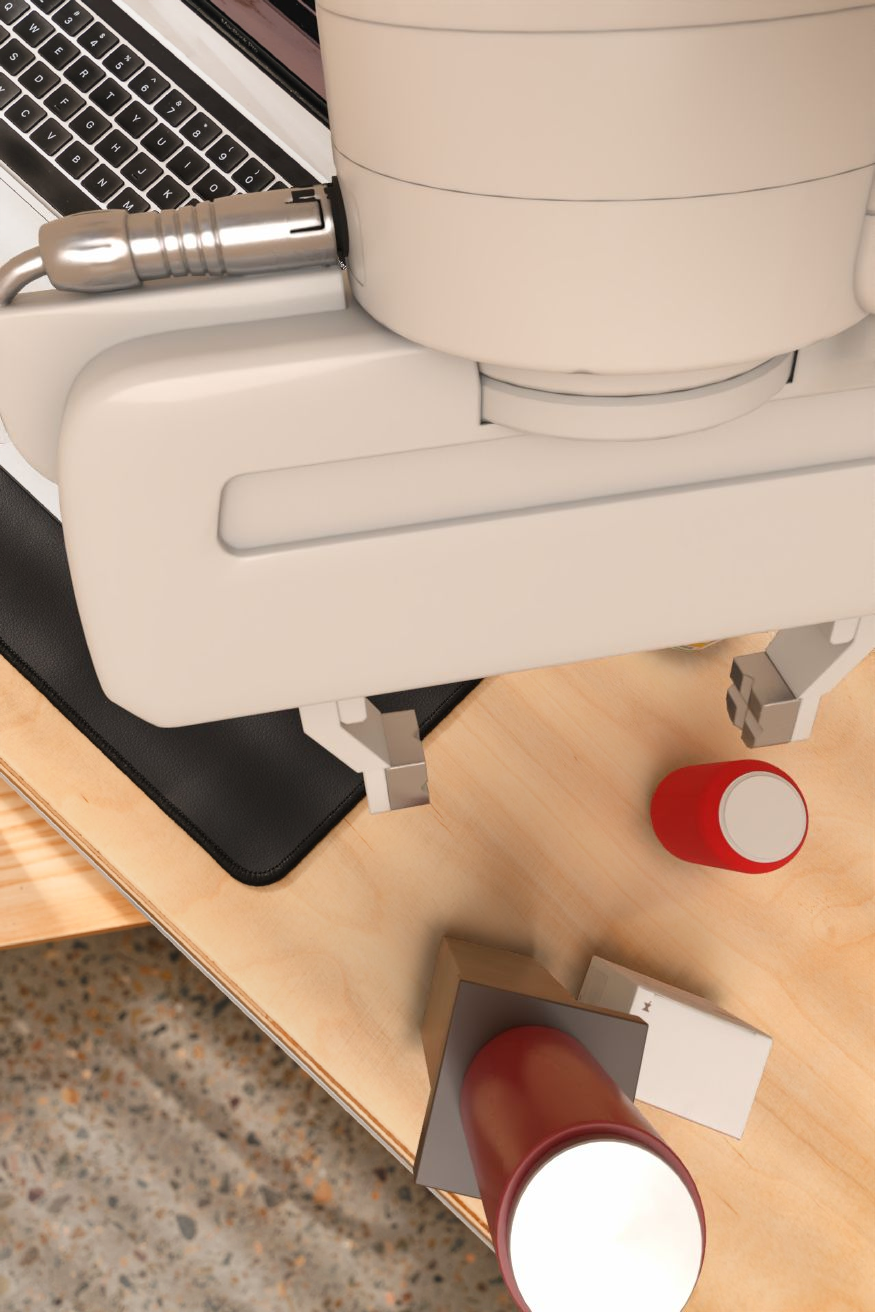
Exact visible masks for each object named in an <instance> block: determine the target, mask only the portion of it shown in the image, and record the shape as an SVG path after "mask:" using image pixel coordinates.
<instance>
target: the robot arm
mask: <svg viewBox="0 0 875 1312" xmlns="http://www.w3.org/2000/svg"><path fill="white" fill-rule="evenodd" d="M314 4H315V14H316V23H317V30H318V39H319V47H320V56H321V63H322V71H323V72H322V73H323V80H324V81H323V82H324V88H325V97H326V105H327V106H326V107H327V115H328V121H329V122H328V123H329V131H330V132H329V133H330V140H331V141H330V144H331V152H332V160H333V164H334V168H335V173H336V175H331V181H330V182H323V183H321V184H320V183H319V184H306V185H304V184H303V185H297V186H290V187H288V188H281V189H280V188H279V189H272V190H263V191H254V192H248V193H247V192H246V193H239V194H232V195H227V196H222V197H217V198H214V199H213V201H210V200H204V201H201V202H197V203H196V205H192V204H189V205H184V206H180V207H178V210H176V209H175V208H169V209H161V210H160V212H159V213H158V211H156V210H152V211H144V212H136V213H129V211H128V209H124V208H123V209H122V208H121V209H120V208H109V209H106V208H105V209H94V210H93V209H92V210H87V211H80V212H76V213H72V214H68V215H66V216H62V217H59V218H56V219H53V220H51V221H48V222H46V223H43V224H41V226H40V227H39V229H38V234H37V235H38V246H35V247H32V248H29V249H27V250H24V251H22V252H21V253H18V254H17V255H15V256H13V257H11V258H10V259H9V260H8V261H6V262H5V263H4V264H2V266H0V419H1V421H2V424H3V427H4V429H5V432H6V434H7V435H8V437H9V440H10V441H11V443H12V445H13V446H14V447H15V450H17V452H18V453H19V455H20V456H21V457H22V458H23V459H24V460H25V462H27V464H28V465H29V466H30V467H31V468H32V469H34V470H35V471H36V472H37V473H38V474H40V476H42V477H43V478H45V479H47V480H48V481H49V482H51V483H53V484H55V485H57V493H58V501H59V512H60V518H61V525H62V526H61V527H62V532H63V540H64V548H65V552H66V557H67V563H68V567H69V572H70V573H69V574H70V578H71V582H72V587H73V593H74V597H75V602H76V607H77V610H78V614H79V619H80V623H81V627H82V630H83V633H84V639H85V641H86V645H87V649H88V651H89V654H90V658H91V661H92V665H93V668H94V670H95V673H96V676H97V679H98V682H99V685H100V687H101V690H102V691H103V693H104V695H105V696H106V697H107V699H108V700H110V702H112V703H114V704H116V705H117V706H118V707H121V708H122V709H124V710H126V711H127V712H129V713H130V714H132V715H134V716H136V717H138V718H139V719H141V720H143V721H145V722H147V723H149V724H151V725H153V726H155V727H158V728H169V729H170V728H180V727H187V726H193V725H200V724H205V723H213V722H218V721H225V720H229V719H237V718H243V717H247V716H255V715H261V714H266V713H272V712H279V711H280V712H281V711H285V710H293V709H298V710H299V717H300V720H301V725H302V730H303V733H304V734H305V735H307V736H308V737H309V738H311V739H312V740H314V741H315V742H316V743H317V744H318V745H320V746H321V747H323V748H324V749H325V750H326V751H328V752H329V753H330V754H332V755H333V756H334V757H336V758H337V759H338V760H339V761H341V762H342V763H344V764H345V765H346V766H348V767H349V768H350V769H351V770H353V771H354V772H356V773H357V774H361V773H362V775H363V781H364V787H365V793H366V800H367V806H368V811H369V812H368V813H369V814H370V816H373V815H379V814H384V813H388V812H389V813H391V812H392V811H398V810H403V809H409V808H414V807H420V806H426V805H430V804H431V799H430V792H429V786H428V782H429V778H428V776H429V775H428V769H427V761H426V756H425V751H424V747H423V742H422V741H421V738H420V727H419V725H418V719H417V715H416V712H415V711H416V710H415V709H406V710H400V711H392V712H391V711H390V712H384V713H382V712H381V711H380V710H379V709H378V708H377V707H376V705H374V704H373V703H372V702H371V701H370V700H369V699H368V698H367V697H373V696H378V695H386V694H391V693H397V692H403V691H409V690H416V689H422V688H429V687H434V686H441V685H448V684H452V683H453V684H454V683H459V682H466V681H471V680H479V679H484V678H490V677H497V676H503V675H510V674H515V673H521V672H528V671H533V670H535V671H536V670H541V669H546V668H553V667H559V666H565V665H571V664H576V663H584V662H590V661H594V660H595V661H596V660H604V659H608V658H609V659H610V658H615V657H620V656H627V655H633V654H640V653H646V652H652V651H657V650H658V651H659V650H665V649H672V648H671V647H677V646H684V645H690V644H696V643H702V642H708V641H715V640H721V639H723V640H727V639H733V638H739V637H745V636H751V635H758V634H763V633H770V632H776V631H777V633H776V634H774V636H773V638H772V639H771V640H770V642H769V643H768V644H767V645H766V647H765V648H764V651H759V652H754V653H749V654H743V655H739V656H734V657H732V664H731V669H730V673H729V678H730V679H731V681H732V684H731V685H730V686H729V687H728V688H727V690H726V696H725V705H726V711H727V714H728V717H729V720H730V721H731V723H732V725H733V726H734V727H736V728H738V729H739V730H741V736H740V739H741V740H742V742H743V744H744V745H745V747H746V748H748V749H758V748H759V749H760V748H765V747H772V746H773V747H774V746H779V745H783V744H784V745H785V744H788V743H789V744H790V743H797V742H804V741H807V740H809V738H811V735H812V732H813V728H814V725H815V721H816V717H817V713H818V709H819V706H820V704H821V699H822V696H825V695H828V694H829V693H830V692H831V691H832V690H833V689H834V688H836V686H837V685H838V684H839V683H840V682H842V681H843V680H844V678H846V677H847V676H848V675H849V674H850V673H851V672H852V671H853V670H854V669H855V668H856V667H857V666H858V665H859V664H861V663H862V661H864V659H866V658H867V657H868V656H869V655H870V654H871V653H872V652H873V651H874V650H875V0H314ZM339 252H341V256H342V258H344V259H345V269H342V266H341V261H340V258H339V255H338V253H339ZM45 276H47V278H48V281H49V282H50V284H51V286H53V288H52V289H47V290H46V289H45V290H37V291H28V292H21V291H22V290H23V289H24V288H25V287H27V285H29V284H30V283H32V282H34V281H36V280H38V279H40V278H43V277H45ZM721 641H722V640H721Z"/></svg>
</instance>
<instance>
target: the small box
mask: <svg viewBox="0 0 875 1312" xmlns="http://www.w3.org/2000/svg"><path fill="white" fill-rule="evenodd" d="M576 1000H577V1001H578V1002H581V1003H585V1004H590V1005H594V1006H598V1007H602V1008H606V1009H611V1010H615V1011H619V1012H623V1013H628V1014H632V1015H636V1016H639V1017H640V1018H642V1019H643V1020H644V1021H645V1022H646V1023H648V1024H649V1027H648V1033H647V1038H646V1043H645V1048H644V1053H643V1058H642V1064H641V1069H640V1074H639V1079H638V1084H637V1089H636V1095H635V1100H634V1101H637V1102H640V1103H642V1104H645V1105H647V1106H650V1107H653V1108H655V1109H658V1110H660V1111H663V1112H666V1113H668V1114H671V1115H673V1116H676V1117H678V1118H681V1119H684V1120H686V1121H689V1122H691V1123H694V1124H697V1125H699V1126H702V1127H704V1128H707V1129H710V1130H712V1131H715V1132H717V1133H720V1134H723V1135H725V1136H727V1137H730V1138H733V1139H735V1140H737V1141H741V1140H742V1139H743V1136H744V1132H745V1129H746V1126H747V1124H748V1120H749V1118H750V1115H751V1111H752V1108H753V1106H754V1102H755V1100H756V1096H757V1093H758V1090H759V1087H760V1084H761V1080H762V1078H763V1074H764V1072H765V1068H766V1066H767V1062H768V1059H769V1056H770V1053H771V1050H772V1047H773V1044H774V1038H773V1037H772V1036H771V1035H769V1034H768V1033H766V1032H764V1031H763V1030H760V1029H759V1028H758V1027H755V1026H754V1025H752V1024H750V1023H748V1022H746V1021H745V1020H744V1019H742V1018H740V1017H738V1016H736V1015H734V1014H733V1013H731V1012H729V1011H728V1010H726V1009H724V1008H723V1007H721V1006H719V1005H717V1004H716V1003H714V1002H712V1001H711V1000H709V999H707V998H704V997H702V996H699V995H696V994H694V993H692V992H689V991H686V990H685V989H681V988H679V987H676V986H673V985H671V984H668V983H666V982H664V981H661V980H658V979H655V978H653V977H651V976H647V975H645V974H643V973H639V972H637V971H635V970H634V969H633V970H632V969H630V968H627V967H625V966H622V965H620V964H617V963H614V962H613V961H609V960H607V959H604V958H602V957H600V956H597V955H592V957H591V960H590V964H589V966H588V969H587V972H586V975H585V977H584V980H583V983H582V986H581V989H580V991H579V994H578V997H577V999H576Z"/></svg>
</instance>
